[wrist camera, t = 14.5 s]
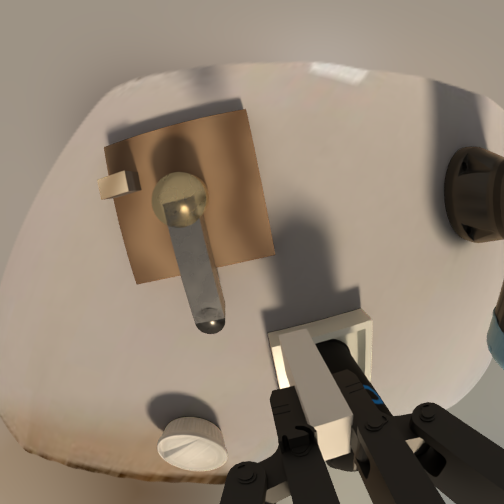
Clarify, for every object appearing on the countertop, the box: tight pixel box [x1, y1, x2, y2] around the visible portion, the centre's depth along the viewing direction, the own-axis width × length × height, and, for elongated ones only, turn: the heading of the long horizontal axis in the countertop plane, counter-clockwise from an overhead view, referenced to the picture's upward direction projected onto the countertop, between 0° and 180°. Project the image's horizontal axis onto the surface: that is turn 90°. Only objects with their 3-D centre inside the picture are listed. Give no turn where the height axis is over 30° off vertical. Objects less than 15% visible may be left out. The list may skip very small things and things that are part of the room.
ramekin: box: [157, 417, 228, 471], centre depth 36 cm, size 11×11×5 cm
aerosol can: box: [315, 339, 392, 472], centre depth 26 cm, size 8×8×20 cm
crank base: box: [97, 109, 275, 284], centre depth 27 cm, size 16×16×6 cm
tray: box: [268, 308, 372, 389], centre depth 35 cm, size 13×13×4 cm
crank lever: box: [152, 172, 225, 334], centre depth 27 cm, size 16×5×4 cm, turn 11°
